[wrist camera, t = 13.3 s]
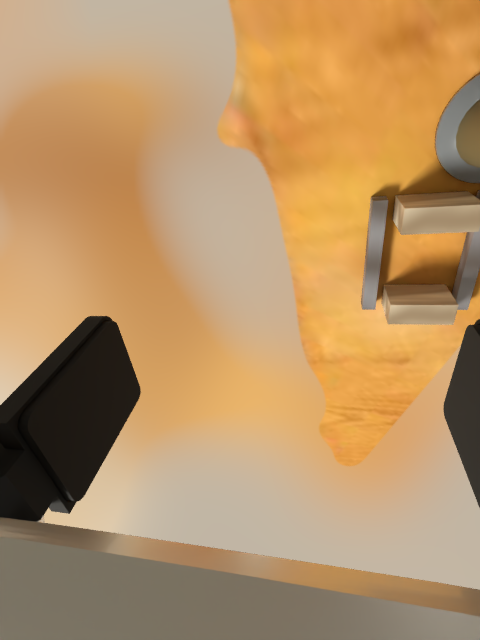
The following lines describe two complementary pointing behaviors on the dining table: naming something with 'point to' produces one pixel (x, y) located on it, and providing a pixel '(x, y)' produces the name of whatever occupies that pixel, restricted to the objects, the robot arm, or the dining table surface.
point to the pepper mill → (470, 136)
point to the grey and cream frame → (424, 218)
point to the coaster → (448, 129)
